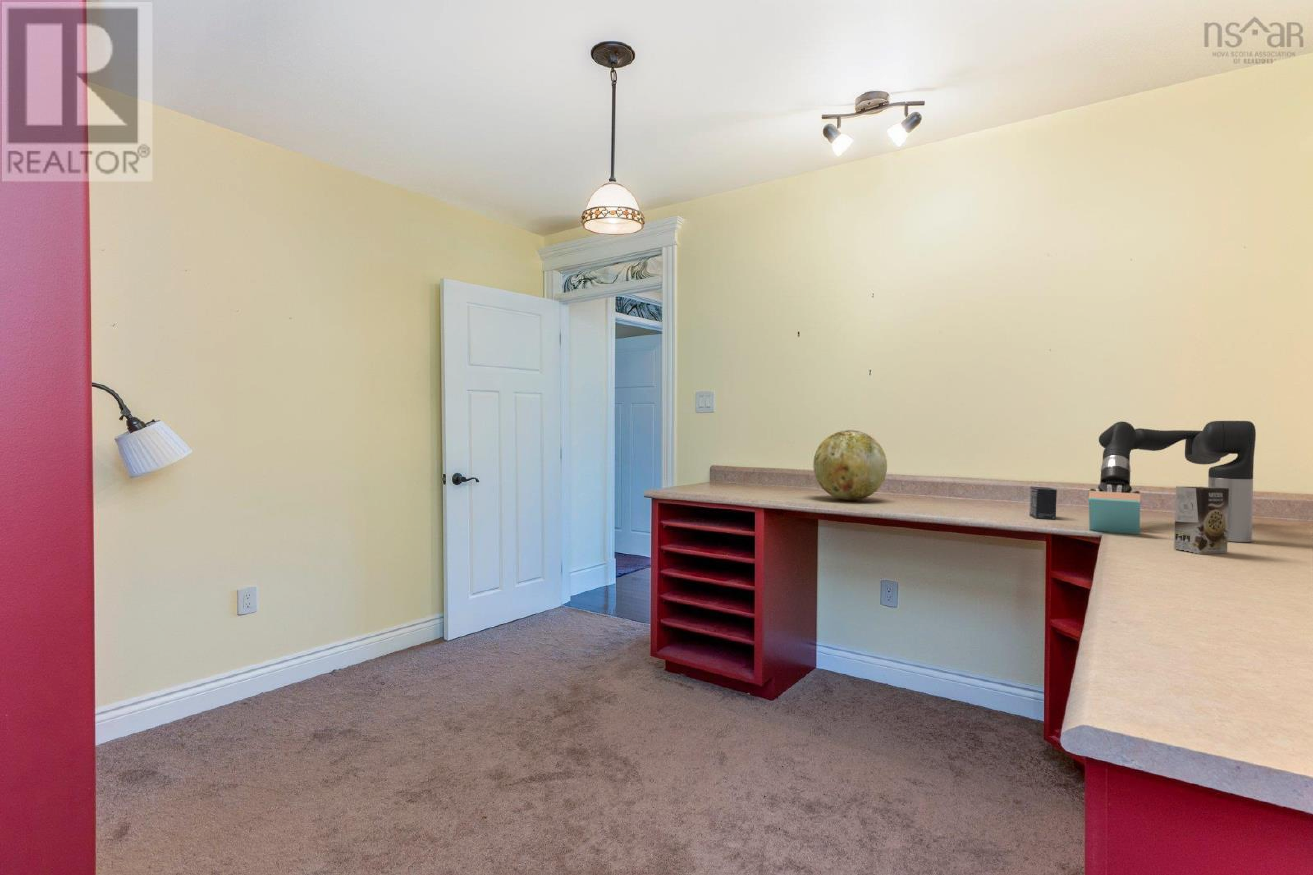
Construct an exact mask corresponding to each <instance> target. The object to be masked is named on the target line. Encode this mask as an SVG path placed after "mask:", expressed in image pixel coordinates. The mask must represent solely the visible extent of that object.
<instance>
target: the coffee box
mask: <svg viewBox="0 0 1313 875" xmlns="http://www.w3.org/2000/svg"><path fill="white" fill-rule="evenodd" d="M1174 502H1175V503H1174V504H1175V506H1174V508H1175V509H1174V535H1173V536H1174V537H1173V538H1174V539H1173V541H1174V544H1173V550H1175V549H1180V550H1184V551H1183V552H1186V551H1189V552H1188V553H1191V552H1193V553H1192V554H1196V553H1197V555H1204V554H1205V555H1208V554H1209V555H1211V554H1212V555H1213V554H1228V543H1229V541H1228V502H1229V488H1217V487H1208V486H1175V501H1174ZM1180 550H1179V551H1180Z"/></svg>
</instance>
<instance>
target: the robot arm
mask: <svg viewBox="0 0 1313 875" xmlns="http://www.w3.org/2000/svg"><path fill="white" fill-rule="evenodd" d="M1256 431H1257V430H1256V425H1255V424H1254V423H1253V422H1252V421H1249V420H1213V421H1209V422H1208V423H1206V424H1205V426H1203V429H1202V430H1194V429H1193V430H1187V429H1186V430H1185V429H1184V430H1181V429H1179V430H1175V429H1174V430H1173V429H1172V430H1163V429H1162V430H1159V429H1151V428H1150V429H1148V428H1141V427H1140V428H1135V427H1134V426H1133V425H1132V424H1131V423H1129V422H1127V421H1117V422H1116V423H1115V422H1114V423H1113V424H1112V425H1111V426H1109V427H1108V428H1107V429H1106V430H1104V431H1103V432H1101V434H1100V435H1099V436H1098V443H1099V445H1100V446H1101V447H1102V448H1104V449H1103V451H1102V462H1101V466H1100V478H1099V479H1100V481H1099V484H1098V485H1097V488H1090V490H1089V492H1090V491H1101V492H1119V493H1137V494H1140V495H1141V492H1140V491H1139V490H1134V489H1133V488H1132V486H1131V472H1132V471H1131V470H1132V469H1131V465H1130V464H1131V463H1130V462H1131V459H1130V458H1131V454H1130V453H1131V451H1134V450H1142V451H1143V450H1144V451H1148V452H1149V451H1152V452H1156V451H1158V452H1159V451H1162V450H1166V449H1168V448H1170V447H1172V446H1173V445H1175V444H1177V443H1179V442H1182V441H1185V442H1184V443H1185V444H1184V457H1185V459H1186V460H1185V461H1188V462H1190V463H1192V464H1195V465H1213V464H1217V463H1218V462H1220V461H1221V459H1222V458H1224V457H1226V456H1228V455H1230V454H1231V455H1234V454H1235V455H1237V456H1236V458H1234V459H1233V460H1230V461H1229V462H1227V463H1223V464H1219V465H1214V466H1211V467H1210V468H1208V471H1207V472H1208V474H1207V476H1208V480H1207V481H1208V482H1207V484H1208V485H1207V487H1217V488H1229V502H1228V542H1235V543H1251V542H1252V541H1253V514H1254V513H1253V508H1254V507H1253V505H1254V504H1253V503H1254V499H1253V498H1254V461H1255V450H1256V448H1255V447H1256V438H1257V437H1256V436H1257V434H1256V433H1257V432H1256Z"/></svg>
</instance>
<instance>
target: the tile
mask: <svg viewBox="0 0 1313 875" xmlns="http://www.w3.org/2000/svg"><path fill="white" fill-rule="evenodd" d="M1088 519H1089V520H1088V522H1089V524H1088V526H1089V531H1096V532H1104V533H1106V532H1107V533H1117V532H1118V533H1119V534H1128V533H1129V534H1130V535H1139V534H1140V532H1141V527H1140V526H1141V493H1140V494H1137V493H1119V492H1101V491H1090V490H1089V492H1088Z"/></svg>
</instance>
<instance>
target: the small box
mask: <svg viewBox="0 0 1313 875" xmlns="http://www.w3.org/2000/svg"><path fill="white" fill-rule="evenodd" d="M1029 490H1030V501H1029V514H1028V515H1029V516H1030V517H1032V518H1034V519H1039V520H1056V519H1057V496H1058V495H1057V493H1058V492H1057V491H1058V490H1057V489H1055V488H1051V487H1044V486H1043V487H1042V486H1030V489H1029Z"/></svg>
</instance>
